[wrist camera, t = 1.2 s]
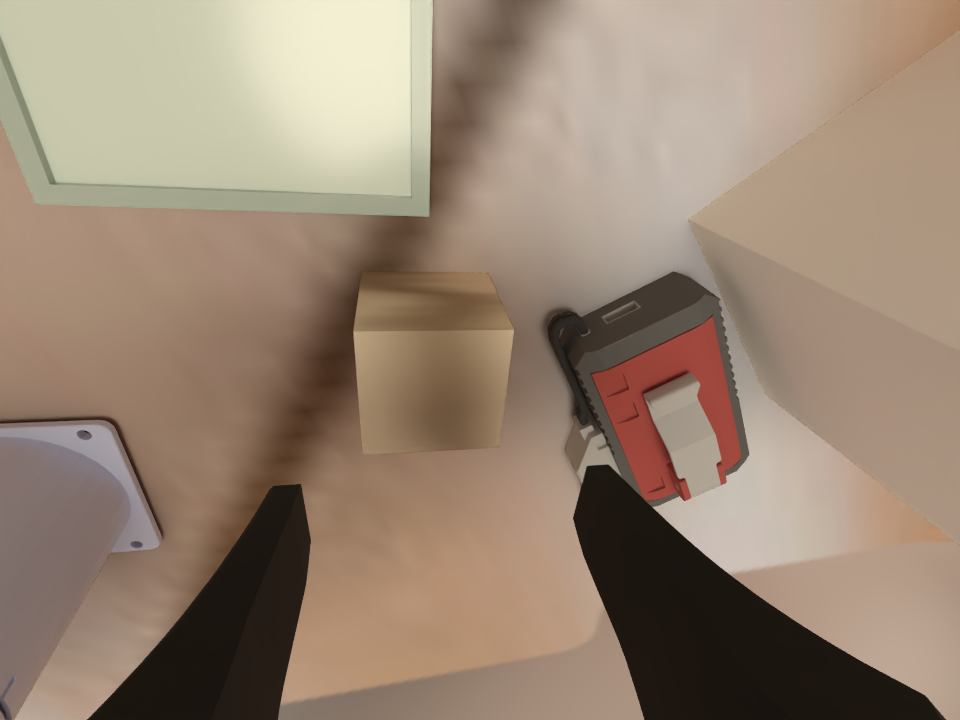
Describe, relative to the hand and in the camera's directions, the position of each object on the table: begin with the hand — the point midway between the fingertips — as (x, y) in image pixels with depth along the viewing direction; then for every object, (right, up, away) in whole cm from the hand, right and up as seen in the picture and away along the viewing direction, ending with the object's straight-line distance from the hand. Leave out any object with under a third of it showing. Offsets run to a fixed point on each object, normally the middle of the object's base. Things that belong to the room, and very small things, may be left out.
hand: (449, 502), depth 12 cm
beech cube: (-2, +5, +8) cm, 10 cm away
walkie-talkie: (+10, 0, +14) cm, 17 cm away
